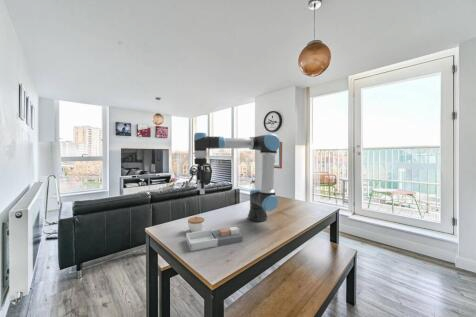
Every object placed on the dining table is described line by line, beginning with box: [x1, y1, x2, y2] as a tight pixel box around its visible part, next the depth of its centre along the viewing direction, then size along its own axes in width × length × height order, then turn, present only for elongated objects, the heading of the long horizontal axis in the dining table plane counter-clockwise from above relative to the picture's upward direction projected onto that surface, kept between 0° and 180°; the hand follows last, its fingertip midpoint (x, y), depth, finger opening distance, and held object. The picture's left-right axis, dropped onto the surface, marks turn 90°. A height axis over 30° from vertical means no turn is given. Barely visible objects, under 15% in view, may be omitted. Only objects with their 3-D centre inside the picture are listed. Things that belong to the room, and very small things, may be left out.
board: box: [211, 229, 244, 247], centre depth 120 cm, size 15×14×3 cm
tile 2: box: [227, 226, 240, 235], centre depth 122 cm, size 5×5×2 cm
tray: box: [185, 229, 219, 252], centre depth 114 cm, size 15×15×4 cm
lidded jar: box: [187, 216, 205, 232], centre depth 132 cm, size 11×11×9 cm
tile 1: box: [218, 227, 230, 236], centre depth 120 cm, size 5×5×2 cm
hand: (200, 191), depth 125 cm, fingers open, 13 cm apart
